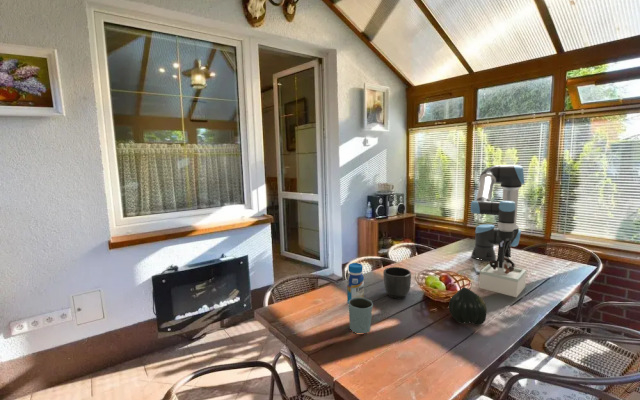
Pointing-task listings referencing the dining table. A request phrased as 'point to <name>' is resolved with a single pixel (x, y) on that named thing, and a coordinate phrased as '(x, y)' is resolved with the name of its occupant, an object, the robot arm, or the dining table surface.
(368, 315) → the green tumbler cup
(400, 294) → the planter
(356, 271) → the beverage bottle
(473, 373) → the dining table surface
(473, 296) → the squash
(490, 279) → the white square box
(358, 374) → the dining table surface
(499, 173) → the robot arm
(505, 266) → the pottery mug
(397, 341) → the dining table surface
